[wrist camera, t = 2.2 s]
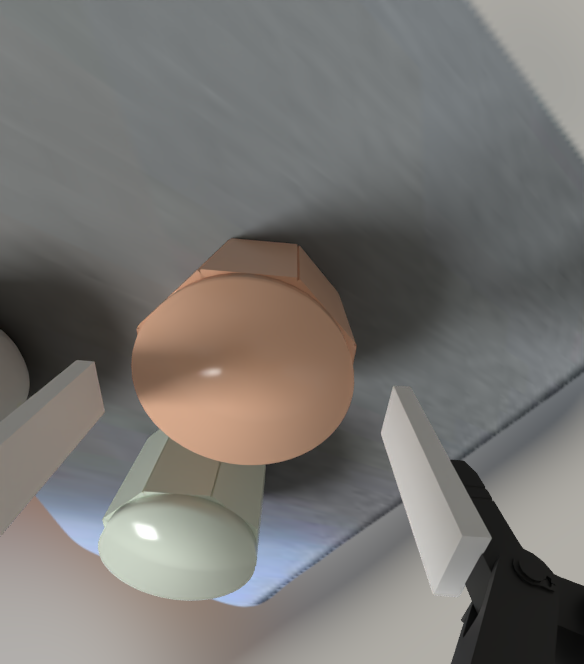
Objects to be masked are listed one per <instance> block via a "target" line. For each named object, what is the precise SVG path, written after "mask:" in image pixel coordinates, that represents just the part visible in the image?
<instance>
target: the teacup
mask: <svg viewBox="0 0 584 664" xmlns="http://www.w3.org/2000/svg"><path fill="white" fill-rule="evenodd" d="M29 387H30V380H29V373H28V369H27V366H26V364H25V361H24V359H23V357H22V356H21V353H20V352H19V350H18V348H17V346H16V345H15V344H14V342H13V341H12V340H11V339H10V338H9V337H8V336H7V335H6V334H5V333H4V332H3V331H2V330H1V329H0V422H1V421H2V420H3V419H4V418H6V417H7V416H8V415H9V414H11V413H12V412H13V411H14V410H16V409H17V408H18V407H19V406H21V405H22V404H23V403H24V402H25V401H26V399H27V397H28V393H29Z"/></svg>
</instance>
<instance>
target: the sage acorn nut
mask: <svg viewBox="0 0 584 664" xmlns="http://www.w3.org/2000/svg"><path fill="white" fill-rule="evenodd" d="M265 474H266V464H264V465H239V464H230V463H225V462H220V461H216V460H213V459H210V458H207V457H204V456H201V455H199V454H197V453H194V452H192V451H190V450H188V449H186V448H185V447H183V446H181V445H180V444H178V443H177V442H175V441H174V440H172V439H171V438H170V437H169V436H167V435H166V434H165V433H164V432H163V431H161V429H159V430H158V431H157V432H155V433H154V434H153V435H151V436H150V437H149V438H148V439H147V441H146V443H145V444H144V446H143V448H142V450H141V452H140V453H139V455H138V457H137V459H136V460H135V462H134V464H133V466H132V468H131V469H130V471H129V473H128V475H127V476H126V478H125V480H124V482H123V483H122V485H121V487H120V489H119V491H118V492H117V494H116V496H115V498H114V499H113V501H112V503H111V505H110V507H109V508H108V510H107V512H106V514H105V515H104V517H103V519H102V520H103V524H104V530H103V532H102V534H101V536H100V538H99V542H98V550H99V555H100V557H101V560H102V562H103V563H104V565H105V566H106V567H107V569H108V570H109V571H110V572H111V573H112V574H114V575H115V576H116V577H117V578H118V579H120V580H121V581H122V582H124V583H126V584H128V585H129V586H131V587H133V588H136V589H138V590H140V591H142V592H145V593H148V594H151V595H155V596H159V597H163V598H168V599H175V600H206V599H213V598H218V597H221V596H225V595H227V594H230V593H232V592H234V591H236V590H238V589H240V588H241V587H242V586H244V585H245V584H246V583H247V582H248V581H249V580H250V578H251V577H252V575H253V572H254V570H255V565H256V562H257V552H258V543H259V533H260V524H261V514H262V505H263V495H264V486H265Z"/></svg>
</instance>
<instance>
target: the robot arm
mask: <svg viewBox="0 0 584 664" xmlns="http://www.w3.org/2000/svg"><path fill="white" fill-rule="evenodd" d="M104 412H105V410H104V405H103V400H102V395H101V391H100V386H99V381H98V376H97V372H96V367H95V362H94V361H83V360H76V361H75V362H74V363H72V364H71V365H70V366H69V367H67V368H66V369H65V370H64V371H62V372H61V373H60V374H59V375H58V376H56V377H55V378H54V379H53V380H51V381H50V382H49V383H48V384H46V385H45V386H44V387H43V388H42V389H40V390H39V391H38V392H37V393H35V394H34V395H33V396H32V397H30V398H29V399H28V400H27V401H25V402H24V403H23V404H22V405H21V406H19V407H18V408H17V409H16V410H14V411H13V412H12V413H11V414H9V415H8V416H7V417H6V418H4V419H3V420H2V421H1V422H0V537H1V535H2V534H3V533H4V531H6V529H7V528H8V527H9V526H10V524H12V522H13V521H14V520H15V519H16V517H17V516H18V515H19V514H20V513H21V511H22V510H23V509H24V508H25V507H26V506H27V504H28V503H29V502H30V501H31V499H32V498H33V497H34V496H35V495H36V494H37V492H38V491H39V490H40V489H41V488H42V486H43V485H44V484H45V483H46V482H47V480H48V479H49V478H50V477H51V476H52V474H53V473H54V472H55V471H56V470H57V469H58V467H59V466H60V465H61V464H62V463H63V461H64V460H65V459H66V458H67V457H68V455H69V454H70V453H71V452H72V451H73V449H74V448H75V447H76V446H77V445H78V443H79V442H80V441H81V440H82V439H83V437H84V436H85V435H86V434H87V433H88V431H89V430H90V429H91V428H92V427H93V425H94V424H95V423H96V422H97V421H98V419H99V418H100V417H101V416H102V415H103V413H104ZM381 435H382V439H383V442H384V445H385V448H386V451H387V454H388V457H389V460H390V463H391V466H392V469H393V473H394V476H395V479H396V482H397V485H398V488H399V491H400V494H401V497H402V500H403V503H404V506H405V509H406V512H407V516H408V519H409V522H410V525H411V528H412V531H413V534H414V537H415V540H416V544H417V547H418V550H419V553H420V556H421V559H422V562H423V565H424V568H425V571H426V574H427V577H428V581H429V584H430V587H431V590H432V593H433V595H438V596H454V597H459V596H460V594H461V593H462V591H463V589H464V587H465V585H466V587H467V590H468V592H469V595H470V597H471V600H472V602H471V604H470V606H469V607H468V609H467V611H466V612H465V614H464V616H463V617H462V619H461V621H462V622H463V623H464V624H463V627H462V630H461V634H460V637H459V640H458V643H457V646H456V650H455V653H454V656H453V659H452V662H451V664H584V586H582V585H580V584H577V583H574V582H572V581H569V580H567V579H564V578H561V577H559V576H557V575H555V574H553V572H552V571H551V570H550V569H549V568H548V567H547V566H546V564H545V563H544V562H543V561H542V560H540V559H539V558H538V557H537V556H535V555H534V554H533V553H531V552H529V551H527V550H525V549H523V548H522V546H521V545H520V543H519V542H518V540H517V539H516V537H515V535H514V534H513V532H512V530H511V529H510V527H509V525H508V524H507V522H506V520H505V519H504V517H503V515H502V514H501V512H500V511H499V509H498V507H497V506H496V504H495V502H494V501H492V497H491V496H490V494H489V492H488V491H487V490H486V489H485V486H484V484H483V483H482V481H481V479H480V478H479V476H478V474H477V473H476V472H475V471H474V470H473V469H472V468H471V467H470V466H469V465H468V464H467V463H466V462H465V461H460V460H450V459H449V457H448V456H447V454H446V452H445V450H444V448H443V446H442V444H441V443H440V441H439V439H438V437H437V435H436V433H435V432H434V430H433V428H432V426H431V424H430V422H429V420H428V419H427V417H426V415H425V413H424V411H423V409H422V407H421V406H420V404H419V402H418V400H417V398H416V396H415V394H414V393H413V391H412V389H411V387H404V386H393V389H392V393H391V397H390V400H389V404H388V408H387V412H386V416H385V419H384V423H383V427H382V431H381Z"/></svg>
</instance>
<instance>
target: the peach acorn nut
mask: <svg viewBox="0 0 584 664" xmlns="http://www.w3.org/2000/svg"><path fill="white" fill-rule="evenodd" d="M137 327H138V328H137V338H136V341H135V344H134V348H133V353H132V363H131V368H132V379H133V383H134V387H135V391H136V393H137V396H138V398H139V401H140V403H141V404H142V406H143V408H144V410H145V411H146V413H147V414H148V415H149V417H150V418H151V419H152V421H153V422H154V423H155V424H156V425H157V426H158V427H159V428H160V429H161V431H163V432H164V433H165V434H166V435H167V436H169V437H170V438H171V439H172V440H174V441H175V442H177V443H178V444H180V445H181V446H183V447H185V448H186V449H188V450H190V451H192V452H194V453H197V454H199V455H201V456H204V457H207V458H210V459H213V460H216V461H220V462H225V463H230V464H239V465H264V464H272V463H278V462H282V461H285V460H289V459H292V458H295V457H297V456H300V455H302V454H304V453H306V452H308V451H310V450H312V449H313V448H315V447H316V446H318V445H319V444H321V443H322V442H323V441H324V440H326V439H327V438H328V437H329V436H330V435H331V434H332V433H333V432H334V431H335V430H336V428H337V427H338V426H339V425H340V423H341V421H342V420H343V418H344V417H345V415H346V413H347V410H348V408H349V406H350V403H351V399H352V396H353V388H354V370H353V362H354V357H355V352H356V347H357V346H356V343H355V340H354V337H353V334H352V331H351V328H350V325H349V322H348V319H347V316H346V314H345V311H344V308H343V305H342V302H341V299H340V296H339V293H338V292H337V290H336V289H335V288H334V287H333V286H332V284H331V283H330V282H329V281H328V280H327V278H326V277H325V276H324V275H323V273H322V272H321V271H320V270H319V269H318V267H317V266H316V265H315V264H314V262H313V261H312V260H311V259H310V258H309V256H308V255H307V254H306V253H305V252H304V250H303V249H302V248H301V247H300V245H299V246H297V244H291V243H280V242H268V241H257V240H246V239H234V238H231V239H229V240H228V241H227V242H226V243H225V244H224V245H223V246H222V247H220V248H219V249H218V250H217V251H216V252H215V253H214V254H213V255H212V256H211V257H210V258H209V259H208V260H207V261H205V262H204V263H203V264H202V265H201V266H200V267H199V268H198V269H197V270H196V271H195V272H194V273H193V274H192V275H191V276H189V277H188V278H187V279H186V280H185V281H184V282H183V283H182V284H181V285H180V286H179V287H178V288H177V289H176V290H175V291H174V292H173V293H172V294H171V295H169V296H168V297H167V298H166V299H165V300H164V301H163V302H162V303H161V304H160V305H159V306H158V307H157V308H156V309H155V310H154V311H153V312H152V313H151V314H150V315H149V316H148V317H146V318H145V319H144V320H143V321H142V322H141V323H140V324H139V325H138V326H137Z"/></svg>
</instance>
